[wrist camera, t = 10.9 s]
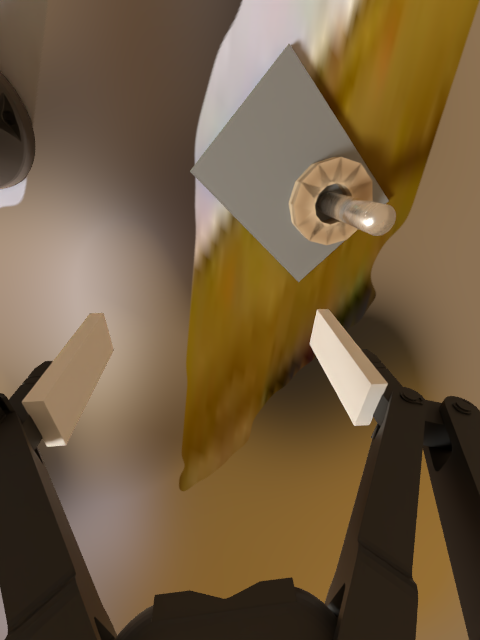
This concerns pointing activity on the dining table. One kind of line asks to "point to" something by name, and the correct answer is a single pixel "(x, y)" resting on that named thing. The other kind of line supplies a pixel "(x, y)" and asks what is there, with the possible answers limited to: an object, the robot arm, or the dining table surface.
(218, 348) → the dining table surface
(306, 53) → the dining table surface
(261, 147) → the board
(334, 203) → the peg
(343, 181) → the tan faceted ring
